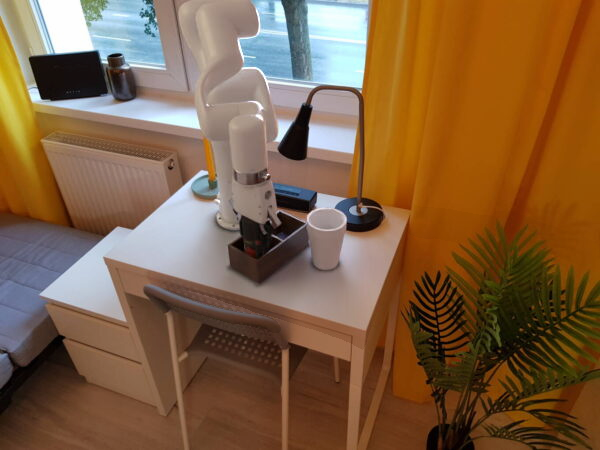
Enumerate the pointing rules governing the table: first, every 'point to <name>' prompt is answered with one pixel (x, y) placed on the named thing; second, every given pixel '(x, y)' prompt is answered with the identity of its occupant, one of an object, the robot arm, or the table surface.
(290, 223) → the organiser
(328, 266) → the foam cup
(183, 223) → the table surface
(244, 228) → the deodorant
